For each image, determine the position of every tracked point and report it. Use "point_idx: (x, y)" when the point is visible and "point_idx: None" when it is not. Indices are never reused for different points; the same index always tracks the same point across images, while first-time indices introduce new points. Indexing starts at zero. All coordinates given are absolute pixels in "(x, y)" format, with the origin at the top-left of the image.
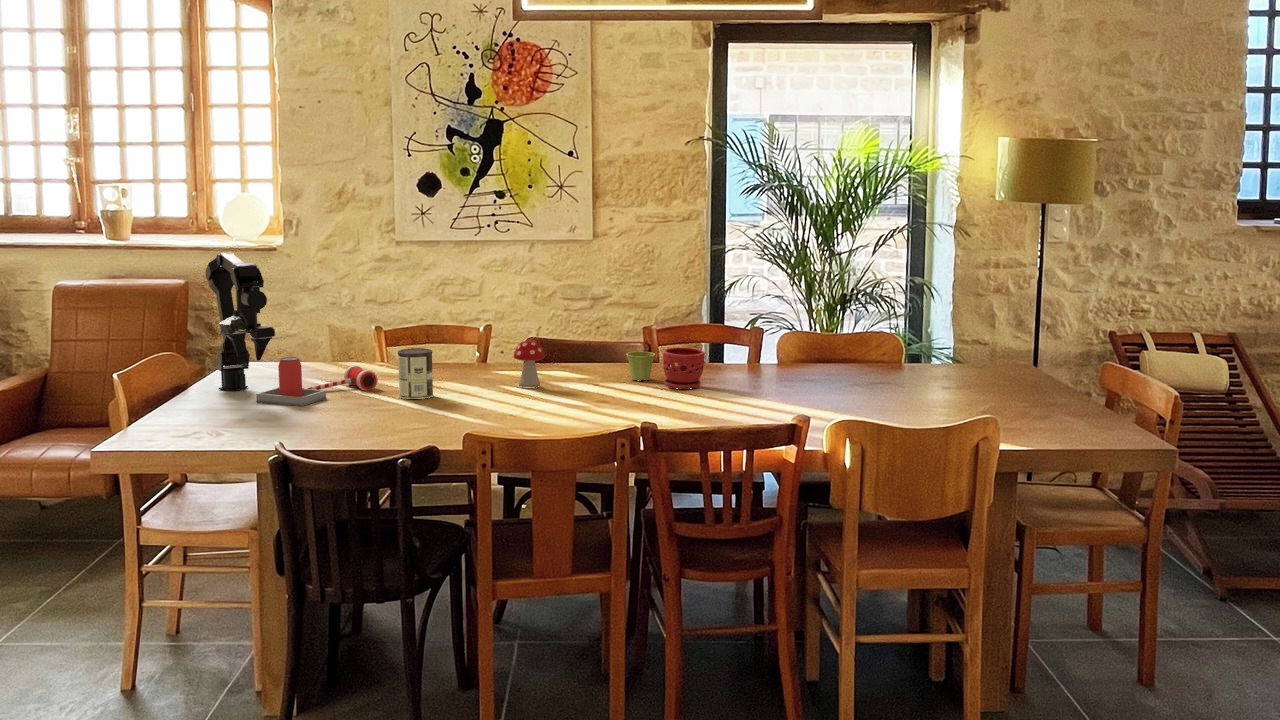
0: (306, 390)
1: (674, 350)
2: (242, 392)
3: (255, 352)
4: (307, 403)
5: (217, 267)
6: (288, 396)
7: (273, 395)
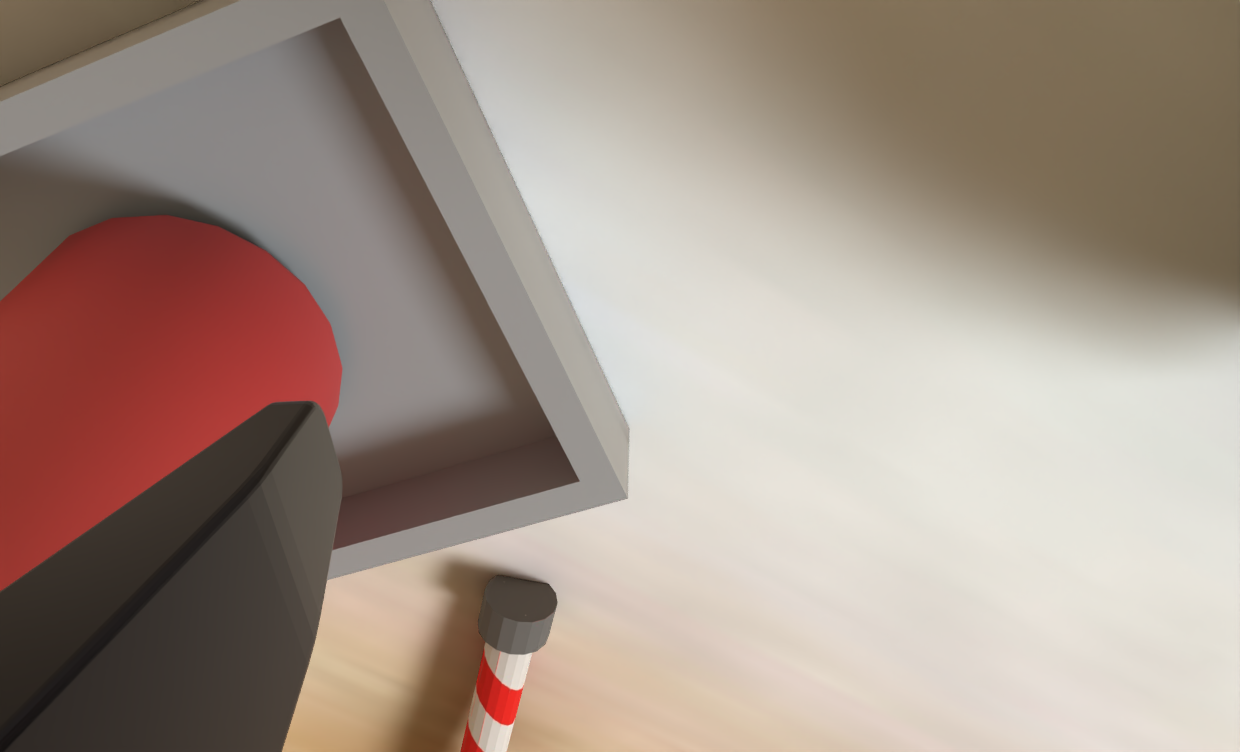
0: None
1: None
2: (1206, 204)
3: (168, 553)
4: None
5: None
6: None
7: (44, 83)
